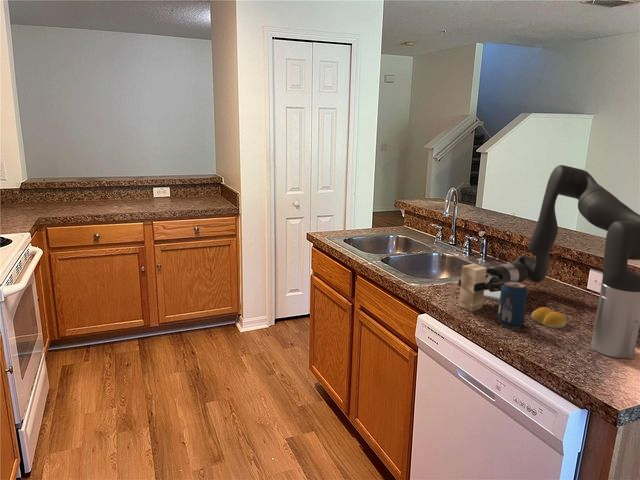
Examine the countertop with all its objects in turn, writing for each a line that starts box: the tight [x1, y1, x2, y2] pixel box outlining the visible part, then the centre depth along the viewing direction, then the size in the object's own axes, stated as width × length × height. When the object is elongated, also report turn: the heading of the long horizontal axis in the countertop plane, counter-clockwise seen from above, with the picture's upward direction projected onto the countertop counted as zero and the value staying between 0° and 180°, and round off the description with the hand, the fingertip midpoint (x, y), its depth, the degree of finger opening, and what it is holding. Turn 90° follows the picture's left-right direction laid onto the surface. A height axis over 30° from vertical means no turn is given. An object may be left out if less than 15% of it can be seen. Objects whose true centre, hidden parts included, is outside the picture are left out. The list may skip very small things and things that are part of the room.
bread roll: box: [530, 306, 568, 329], centre depth 137 cm, size 8×9×4 cm
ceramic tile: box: [483, 290, 501, 302], centre depth 160 cm, size 11×11×1 cm
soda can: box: [497, 281, 528, 329], centre depth 134 cm, size 7×7×12 cm
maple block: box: [458, 263, 488, 312], centre depth 145 cm, size 5×5×13 cm
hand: (467, 285), depth 143 cm, fingers closed on maple block, 5 cm apart
